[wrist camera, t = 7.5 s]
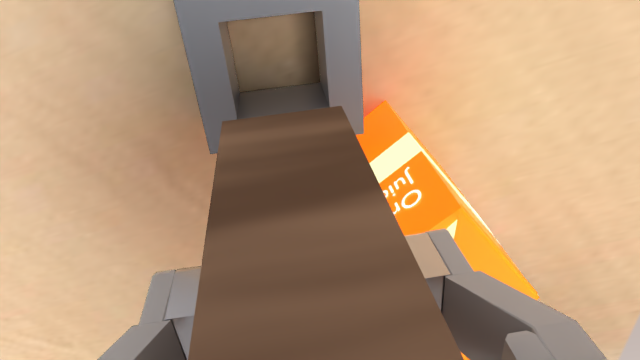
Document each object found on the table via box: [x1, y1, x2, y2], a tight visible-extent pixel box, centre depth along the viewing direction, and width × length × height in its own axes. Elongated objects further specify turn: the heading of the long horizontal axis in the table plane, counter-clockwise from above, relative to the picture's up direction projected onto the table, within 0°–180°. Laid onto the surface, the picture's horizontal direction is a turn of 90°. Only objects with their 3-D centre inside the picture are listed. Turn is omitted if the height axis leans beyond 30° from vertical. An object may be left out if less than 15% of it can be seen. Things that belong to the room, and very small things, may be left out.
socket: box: [173, 0, 364, 154], centre depth 28 cm, size 10×10×5 cm
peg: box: [188, 106, 464, 360], centre depth 11 cm, size 4×4×12 cm
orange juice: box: [356, 100, 539, 360], centre depth 28 cm, size 8×9×20 cm
